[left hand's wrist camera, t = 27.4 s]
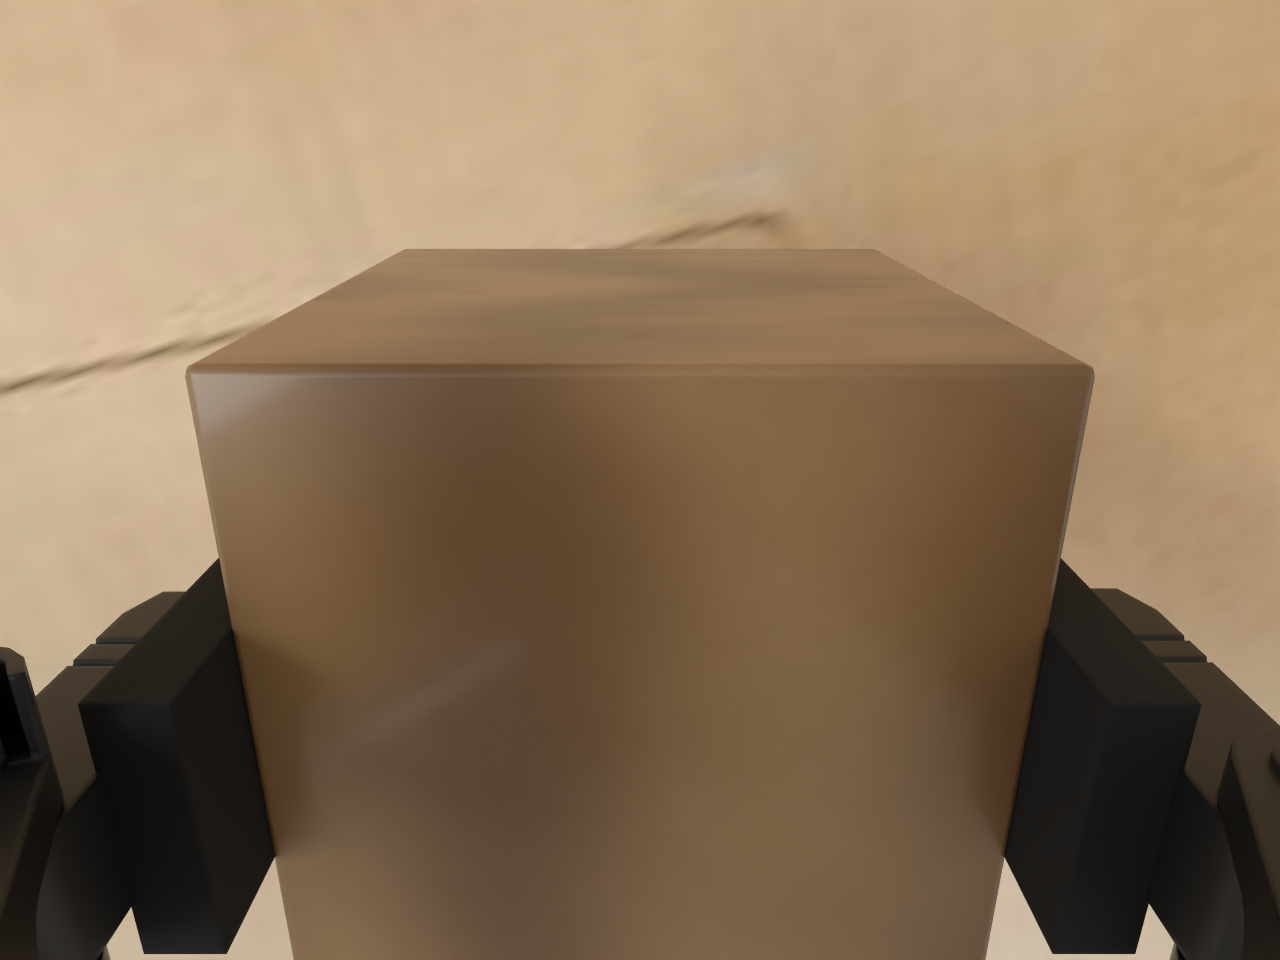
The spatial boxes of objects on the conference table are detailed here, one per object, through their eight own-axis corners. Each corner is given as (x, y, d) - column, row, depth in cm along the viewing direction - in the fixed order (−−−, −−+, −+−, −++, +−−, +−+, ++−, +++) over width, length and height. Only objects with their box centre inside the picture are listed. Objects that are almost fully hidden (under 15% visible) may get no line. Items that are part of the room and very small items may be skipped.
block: (878, 248, 14) (1101, 367, 7) (838, 669, 17) (974, 1040, 10) (401, 248, 14) (178, 366, 7) (440, 669, 17) (304, 1040, 10)
